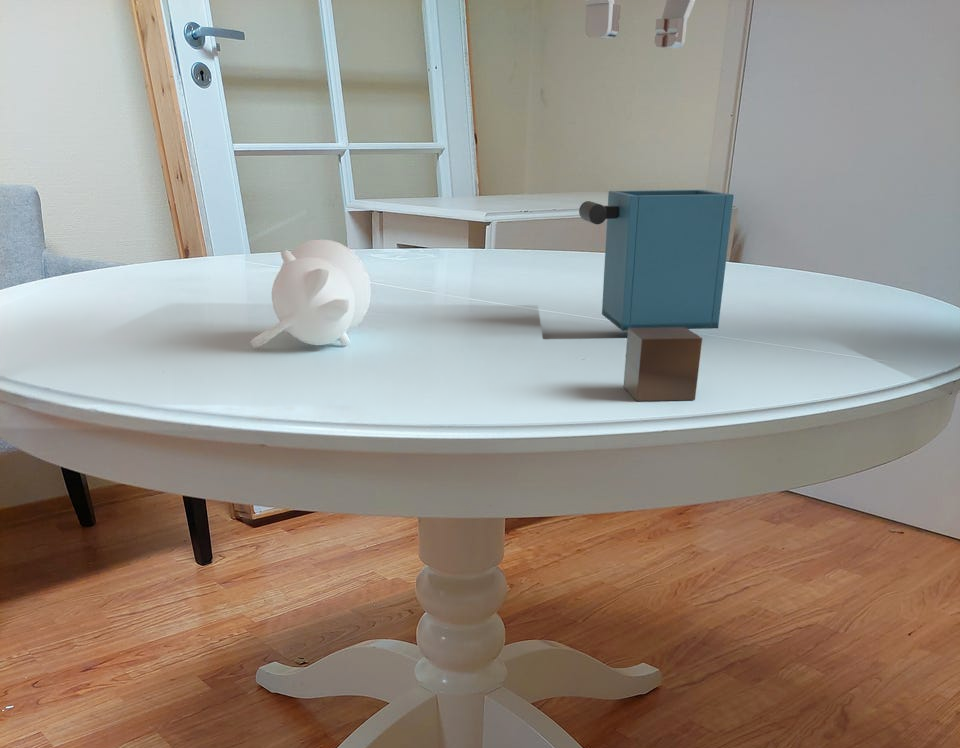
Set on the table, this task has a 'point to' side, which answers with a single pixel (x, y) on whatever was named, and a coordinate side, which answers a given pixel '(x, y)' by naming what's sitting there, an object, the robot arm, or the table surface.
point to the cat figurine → (319, 294)
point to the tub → (663, 256)
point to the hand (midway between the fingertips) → (637, 43)
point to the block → (662, 363)
